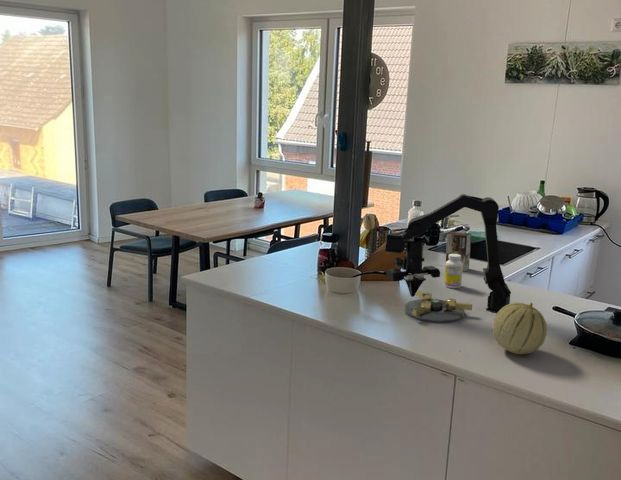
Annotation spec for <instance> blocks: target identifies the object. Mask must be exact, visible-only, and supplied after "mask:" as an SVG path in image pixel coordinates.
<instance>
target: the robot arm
mask: <svg viewBox="0 0 621 480" xmlns="http://www.w3.org/2000/svg"><path fill="white" fill-rule="evenodd" d="M465 208H467V209H470V210H473V211H476V212H480V215H481V219H482V221H483V226H484V235H485V237H484V238H485V245H486V248H485V249H486V256H487V257H486V258H487V264H486V265H487V266H486V267H483V268H482V270H483V273H484V275H483V280H484V283H485V285H487V287H488V289H489V290H490V292H489V295H487V303H486V304H487V305H486V306H487V307H486V309H485V310H486V311H489V312H492V313H496V314H497V313H498V312H499V310H500V309H502V308H503V307H504V306H506V305H508V304H511V303H510V301H511V293H512V291H511V289H510V288H509V285H508V284H507V283H506V281H505V278H504V274H503V271H502V267H501V264H500V255H499V242H498V229H497V223H498V217H499V211H500V210H499V209H500V207H499V204H498V203H497V201H496V200H495V199H494V198H492V197H491V196H489V197H487V196H486V197H484V198H482V197H478V196H471V195H468V194H465V193H462V194H460V195H459V196H458V197H456V198H454V199H452V200H450V201H449V202H447V203H445V204H444V205H441V206H440V207H438V208H436V209H435V210H433V211H431V212H429V213H426V214H422V215H419V216H416V217H413V218H411V219H410V220H409V221H408V224H407V228H406V229H404V231H403V232H402V234H393V233H387V234H386V242H385V253H386V254H402V253H403V252H405V250H406V254H405V255H404V257H403V259H401V257H393V266H394V267H395V268H392V269H388V270H387V272H386V277H387V278H388V279H389V280H391V281H392V282H399V281H400V282H401V281H404V282H405V283H406V286H407V288H408V291H409V295H410V297H411V298H412V297H413V298H414V297H415V296H416V292H417V290H419V289H420V287H421V286H422V285H423V283H424V281H426V279H427V278H425V275H426V276H428V275H429V276H431V277H432V278H435V279H436V278H440V277H441V271H440V269H439V268H438V267H435V266H434V265H429V266H428V265H427V266H424V267H423V262H425V260H426V259H425V257H424V244H429V243H430V239H429V238H428V237H426V235H425V233H426V232H427V231H429V230H430V228H432V227H433V226H434V225H435V224H437V223H438V222H441V221H442V220H444V219H446V218H447V217H450V216H451V215H453V214H455V213H456V212H458V211H460V210H462V209H465ZM423 234H424V235H423ZM405 248H406V249H405ZM397 267H398V268H397ZM402 270H403V271H402Z"/></svg>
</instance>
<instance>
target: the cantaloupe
mask: <svg viewBox="0 0 621 480" xmlns="http://www.w3.org/2000/svg"><path fill="white" fill-rule="evenodd" d="M533 305H534V304H533V302H530V303H529V304H526V303H524V302H511V303H510V304H508V305H506V306H504V307H503V308H502V309H500V310H499V312H498V313H496V315H495V316H494V318H493V322H492V334H493V337H494V340H495V341H496V343H497V344H498V345H499V346H500V347H502V348H503V349H505V350H506V351H508V352H510V353H513V354H514V355H527V354H531V353H533V352H536V351H537V350H538V349H540V348H541V347H542V345H543V344H544V343H545V340H546V337H547V332H548V327H547V322H546V319H545V317H544V315H543V314H542V313H541V312H540V311H539V310H538V309H537V308H536V307H534V306H533Z"/></svg>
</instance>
